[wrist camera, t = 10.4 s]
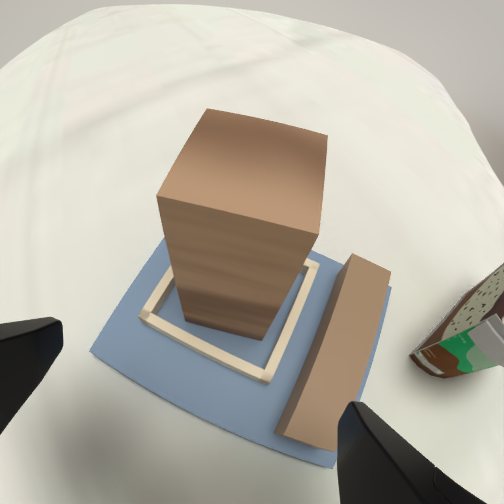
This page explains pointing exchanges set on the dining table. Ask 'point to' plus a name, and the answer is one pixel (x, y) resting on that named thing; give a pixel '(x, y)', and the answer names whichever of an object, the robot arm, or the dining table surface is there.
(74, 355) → the dining table surface
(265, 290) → the pillar
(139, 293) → the blueprint board
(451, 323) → the food container
